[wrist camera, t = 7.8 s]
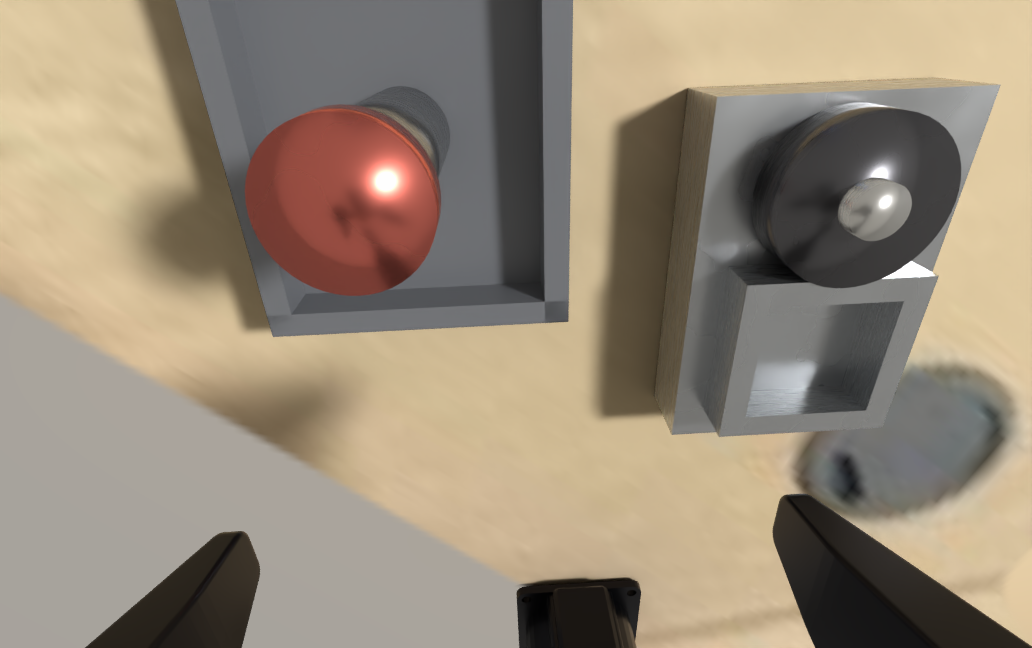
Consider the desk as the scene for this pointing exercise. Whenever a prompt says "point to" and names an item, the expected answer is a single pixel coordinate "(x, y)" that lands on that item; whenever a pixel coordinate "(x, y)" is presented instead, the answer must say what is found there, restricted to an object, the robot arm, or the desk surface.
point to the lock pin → (351, 191)
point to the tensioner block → (807, 248)
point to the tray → (470, 159)
